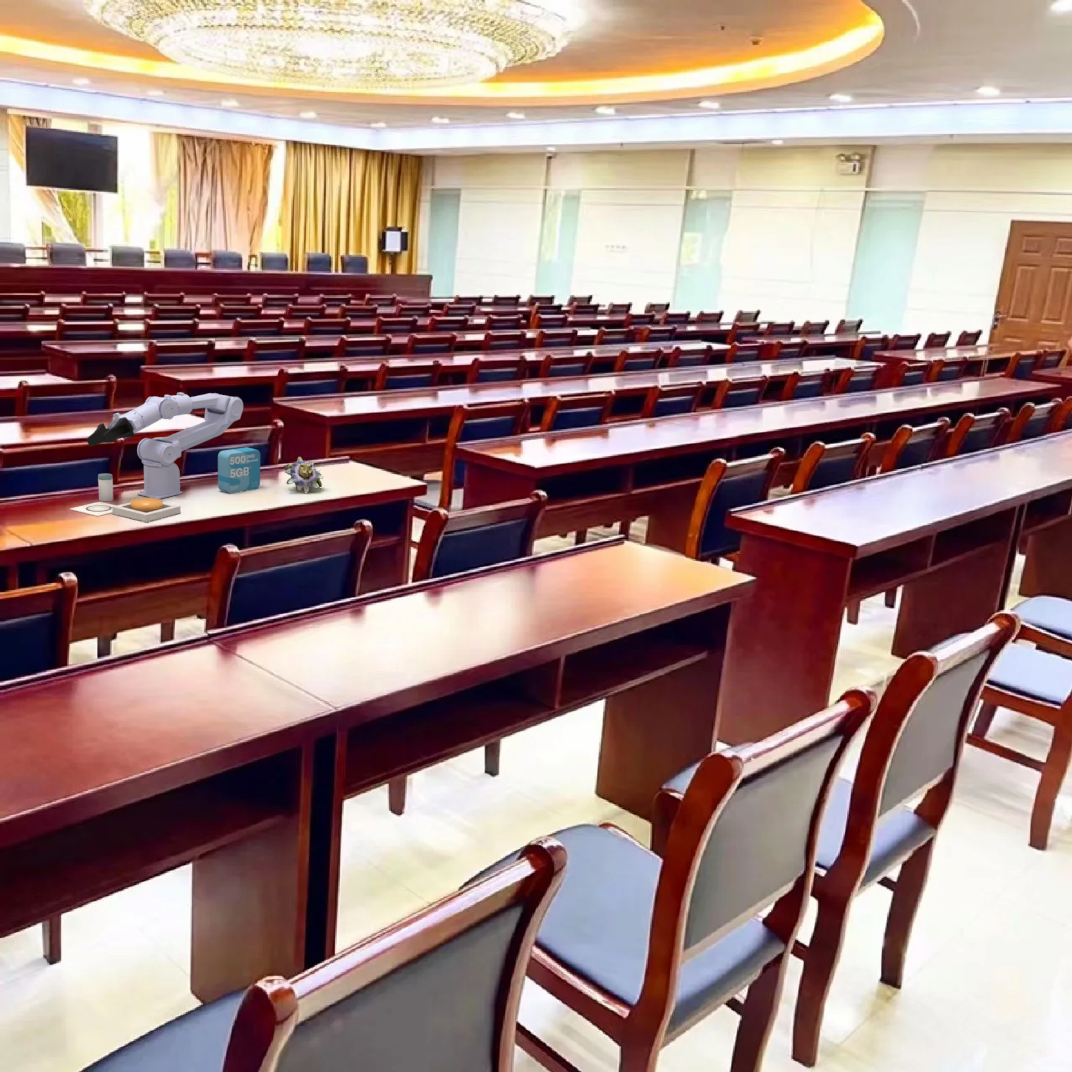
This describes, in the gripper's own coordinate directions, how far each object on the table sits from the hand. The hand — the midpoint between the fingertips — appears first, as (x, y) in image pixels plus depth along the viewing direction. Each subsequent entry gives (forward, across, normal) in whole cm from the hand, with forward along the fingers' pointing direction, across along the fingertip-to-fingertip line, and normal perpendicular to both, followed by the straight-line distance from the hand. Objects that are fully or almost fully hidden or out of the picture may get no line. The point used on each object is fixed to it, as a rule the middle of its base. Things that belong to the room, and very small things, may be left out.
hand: (96, 440), depth 272 cm
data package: (-34, +1, +32) cm, 46 cm away
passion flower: (-46, +12, +39) cm, 62 cm away
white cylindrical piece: (-2, -12, +17) cm, 21 cm away
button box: (+1, +6, +22) cm, 23 cm away
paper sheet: (+6, -5, +17) cm, 18 cm away
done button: (0, +6, +20) cm, 21 cm away
